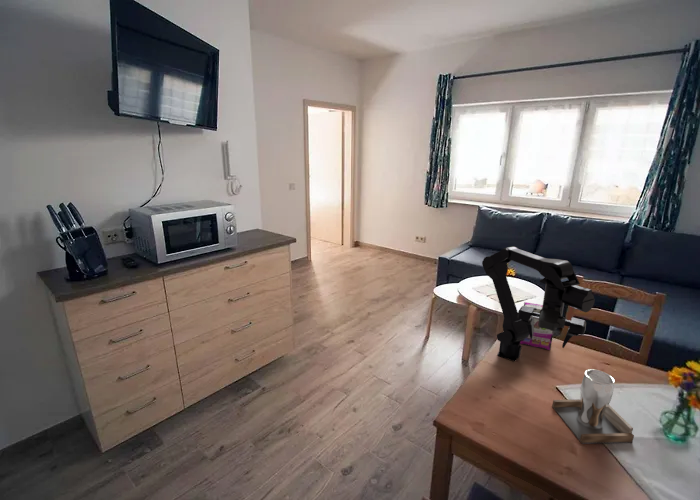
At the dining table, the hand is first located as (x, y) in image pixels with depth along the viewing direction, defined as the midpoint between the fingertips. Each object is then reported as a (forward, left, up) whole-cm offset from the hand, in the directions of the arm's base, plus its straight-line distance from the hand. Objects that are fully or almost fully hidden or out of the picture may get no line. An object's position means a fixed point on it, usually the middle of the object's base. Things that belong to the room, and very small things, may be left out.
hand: (546, 342), depth 112 cm
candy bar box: (-6, +20, -13) cm, 25 cm away
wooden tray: (+15, -15, -13) cm, 25 cm away
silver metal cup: (+15, -15, -13) cm, 24 cm away
